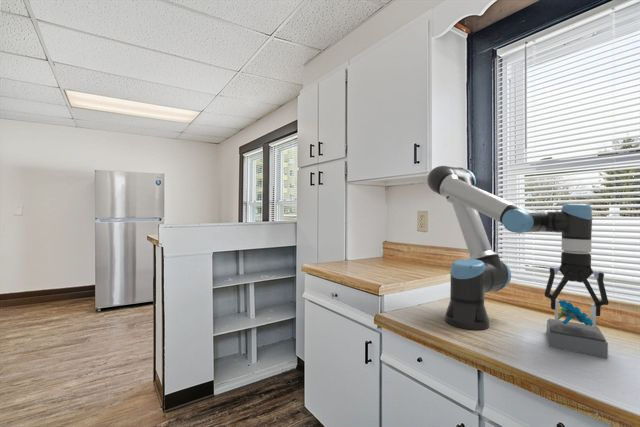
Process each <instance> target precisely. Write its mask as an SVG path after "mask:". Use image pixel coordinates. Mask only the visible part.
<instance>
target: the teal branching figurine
mask: <svg viewBox="0 0 640 427" xmlns="http://www.w3.org/2000/svg"><path fill="white" fill-rule="evenodd" d="M558 304H559V306H560V307H561V308H560V309H559V310H560V314H558V320H560V319H561V318H563V316H564V317H565V319H564V320H562V321H563V323H564V324H566V323H568V322H571V320H572V319H577V321H578V322H579V323H580V324H585V325H590V326H591V325H592V324H593V323H592V320H591V317H588V316H589V315H588V314H586V313H585V312H584V311H583V312H581V311H580V310H581V308H579V307H577V306H574V305H573V303H571V302H569V301H567V300H564V299H562V300H561V299H559V300H558Z"/></svg>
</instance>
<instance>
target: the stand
mask: <svg viewBox="0 0 640 427" xmlns="http://www.w3.org/2000/svg"><path fill="white" fill-rule="evenodd" d="M563 321H564V320H560V319H559V320H558V321H555V318H554V319H553V318H548V319H546V337H547V338H546V339H547V347H549V348H552V349H553V348H554V349H560V350H563V351H569V352H574V353H580V354H583V355H589V356H594V357H599V358H604V359H608V358H609V356H608V354H609V353H608V348H609V345H608V344H609V342H608V341H607V338H606V337H605V336H604V334H603V332H602V330H601V329H600V327H598V325H597V326H596V327H592V325H591V326H590V325H585V324H584V323H581V322H579V323H578V322H572V321H569V322H568V323H566V324H564V323H563Z"/></svg>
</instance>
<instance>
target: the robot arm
mask: <svg viewBox="0 0 640 427" xmlns="http://www.w3.org/2000/svg"><path fill="white" fill-rule="evenodd" d="M426 181H427V185H428V187H429V189H430V190H431V191H433V192H434V193H436V194H438V195H440V196H442V197H445V199H446V201H447V202H448V203H451V205H452V207H453V210H454V213H455V215H456V219H457V223H458V224H459V228H460V231H461V234H462V236H463V239H464V242H465V245H466V248H467V251H468V253H469V257H468V258H465V259H464V258H463V259H457V260H455V261H453V262H452V263H451V266H450V273H449V274H450V289H449V290H450V295H449V297H450V300H449V302H448V305H447V308H446V311H445V315H444V321H445V322H446V324H448V325H451V326H453V327H456V328H460V329H463V330H464V329H465V330H473V331H477V330H486V329H489V327H490V319H489V315H488V313H487V312H488V311H487V309H486V306H485V294H486V293H492V292H498V291H500V290H503V289H505V288H507V286H509V284H510V282H511V280H512V271H511V269H510V267H509V266H508V264H506V263H505V262H503V261H502V260H501V258H500V256H499V253H497V252H495V251H493V249H492V248H493V247H492V246H491V243H490V240H489V238H488V236H487V232H486V230H485V227H484V225H483V221H482V219H481V217H480V214H482V215H485V216H487V217H489V218H491V219H492V220H495V221H496V222H498V223H501V224H502V225H503V227H504V228H505V229H506V231H508V232H512V233H517V234H523V233H540V232H541V233H542V232H543V233H561V246H560V247H561V250H562V252H561V253H560V254H561V255H560V257H561V260H560V266H559V267H552V266H550V267H549V269H548V270H549V276H548V280H547V284H546V286H545V291H544V297H545V298H547V299H550V309H551V310H554V319H555V321H558V316H559V299H557V298H558V296H559V295H560V293H561V292H562V290H563V289H564V288H565V286H566V285H567V283H568V282H578V283H583V285H584V286H585V288H586V290H587V292H588V293H589V295H590V298H592V300H593V302H594V303H591V304H590V306H591V309H590V310H591V311H590V313H591V314H590V315H591V316H590V319H591V320H592V323H593V324H592V327H596V323H597V322H596V319H597V317H600V316H601V308H602V306H608V305H609V304H610V303H609V298H608V295H607V292H606V288H605V284H604V277H605V274H604V272H602V271H601V270H600V271H597V270H593V269H592V254H591V252H592V233H593V231H592V230H593V219H594V218H593V212H592V210H593V209H592V206H591V205H590V204H588V203H586V204H585V203H564V204H562V206H561V209H556V210H555V209H551V210H550V209H526V208H525V207H524V208H523V207H522V206H519V205H517V204H514V203H513V202H511V201H508V200H506V199H504V198H502V197H499V196H497V195H495V194H492V193H490V192H488V191H486V190H483V189H481V188H479V187H477V186H476V184H477V180H476V176H475V175H474V173H473V172H472V171H471V170H469V169H467V168H464V167H455V166H447V165H438V166H436V167H434V168H432V169H431V170H430V172H429V174H428V175H427V179H426ZM558 272H559V273H561V274H562V275H563V276H562V278H561V280H560V282H559V283H558V285H557V286H556V288H555V289H554V291H553V292H552V294H551V290H552V287H553V284H554V280H555V276H556V275H557V274H558ZM592 275H593V277H594V279H596V284H597V286H598V290H599V295H600V300H599V298H598V296H597V295H596V293H595V291H594V289H593V287H592V285H591V284H590V282H589V280H588V278H590V277H591V276H592Z"/></svg>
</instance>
